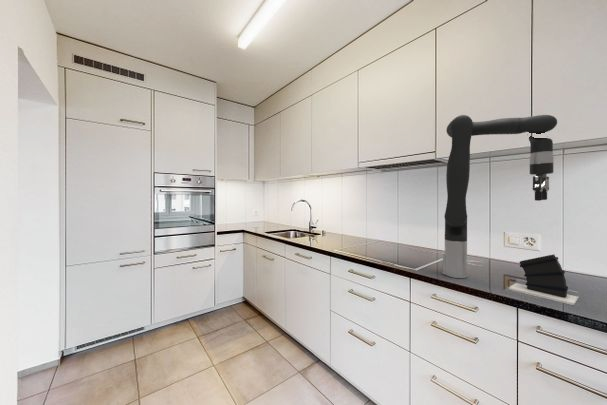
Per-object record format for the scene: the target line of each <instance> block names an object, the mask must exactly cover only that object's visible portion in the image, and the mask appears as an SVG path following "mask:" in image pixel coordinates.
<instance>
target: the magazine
mask: <svg viewBox="0 0 607 405" xmlns="http://www.w3.org/2000/svg"><path fill="white" fill-rule="evenodd" d="M519 267H520V268H522V269H523V272H524V274H523V276H524V277H525V278H526V281H527V283H526V284H525V285H527V289H529V290H533V291H538V292H542V293H546V294H551V295H555V296H559V297H563V298H565V297H566V296H567V290H569V286H568V285H567V281H566V279H567V278H566V277H565V274H566V271H565V270H564V269H563V268H562V265H561V263H560V261H559V257H558V256H555V254H548V255H545V256H539V257H535V258H529V259H525V260H520V261H519Z"/></svg>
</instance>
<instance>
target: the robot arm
mask: <svg viewBox="0 0 607 405" xmlns="http://www.w3.org/2000/svg"><path fill="white" fill-rule="evenodd" d="M557 124H558V119H557V117H555V116H554V115H550V114H541V115H540V114H538V115H533V116H532V115H531V116H526V117H505V118H497V119H490V120H485V121H473V119H472V118H471V117H470V116H469V115H465V114H461V115H458V116H456V117H455V118H453V119H452V120H451V121H450V122H449V124H447V126H446V134H447V135H448V136H449V137H450V138H451V147H450V152H449V156H448V160H447V164H446V174H445V175H446V177H445V178H446V179H445V180H446V193H447V200H446V207H445V212H444V254H442V274H443V275H444V276H448V277H450V278H454V279H466V278H468V264H467V260H468V212H467V192H468V189H469V188H468V187H469V181H470V172H471V171H470V169H471V166H470V165H471V140H472V136H473V137H474V136H483V135H485V136H486V135H487V136H489V135H520V134H523V133H527V132H529V133H536V134H541V133H545V132H547V133H548V132H550V131H552V130H553V129H555V128H556V127H557ZM528 140H529V144H530V152H529V154H530V155H529V175H530V176H531V175H532V190H533V192H534V201H546V200H548V191H549V190H550V177H549V176H548V175H549V174H553V173H554V160H555V159H554V149H553V148H554V143H553V139H552V138H549V137H548V138H534V137H532V136H530V137H529V138H528Z"/></svg>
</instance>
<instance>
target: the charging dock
mask: <svg viewBox="0 0 607 405" xmlns="http://www.w3.org/2000/svg"><path fill="white" fill-rule="evenodd" d="M526 283H527V280H523V279H519V278H516V279H515V283H514V284H512V285H510V286H509V287H508V290H509V291H512V292H515V293H516V292H517V293H521V294H526V295H528V296H529V295H530V296H533V297H534V296H535V297H538V298H541V299H546V300H549V301H554V302H558V303H563V304H567V305H570V306H575V304H576V303H577V301H578V300H579V295H580V294H579V292H580V291H575V290H571V289H568V290H567V296H566V297H565V298H563V297H559V296H555V295H551V294H546V293H542V292H538V291H533V290H529V289H527V285H525V284H526Z"/></svg>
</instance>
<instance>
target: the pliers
mask: <svg viewBox="0 0 607 405" xmlns="http://www.w3.org/2000/svg"><path fill="white" fill-rule="evenodd" d="M474 263H480V264H485V262H484V261H480V260H479V261H478V260H469V259H467V265H469V266H474V267H475V266H476V267H481V265H479V264H474Z"/></svg>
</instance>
